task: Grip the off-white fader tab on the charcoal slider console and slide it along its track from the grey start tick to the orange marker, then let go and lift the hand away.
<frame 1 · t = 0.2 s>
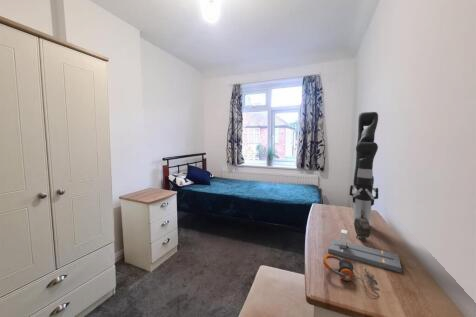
hand: (362, 204, 120), 17 cm above the table, tool pointing down, fingers open, 8 cm apart
alarm clock: (360, 238, 115), on the table
headphones: (349, 277, 82), on the table
console: (361, 255, 97), on the table
fader: (343, 238, 101), point 6 cm above the table, slide at -8.0 cm
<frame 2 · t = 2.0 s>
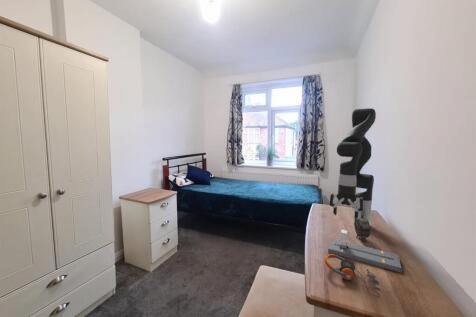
hand: (345, 216, 100), 17 cm above the table, tool pointing down, fingers open, 8 cm apart
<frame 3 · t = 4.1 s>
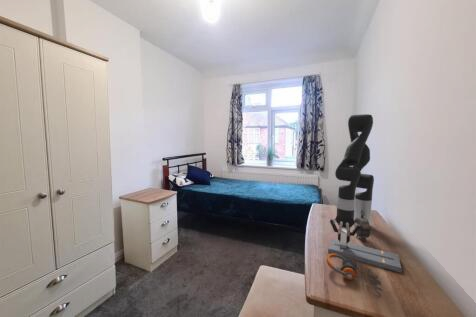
hand: (343, 241, 101), 5 cm above the table, tool pointing down, fingers closed on fader, 2 cm apart
fader: (343, 238, 101), point 6 cm above the table, slide at -8.0 cm, touching gripper
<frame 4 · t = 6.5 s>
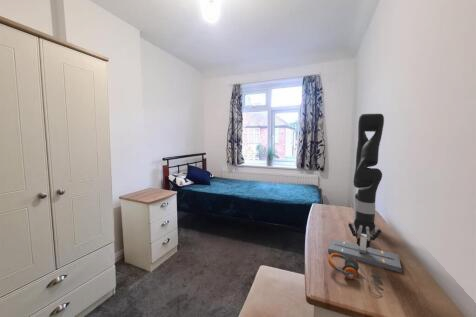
hand: (362, 246, 97), 5 cm above the table, tool pointing down, fingers closed on fader, 2 cm apart
fader: (363, 243, 97), point 6 cm above the table, slide at 0.2 cm, touching gripper
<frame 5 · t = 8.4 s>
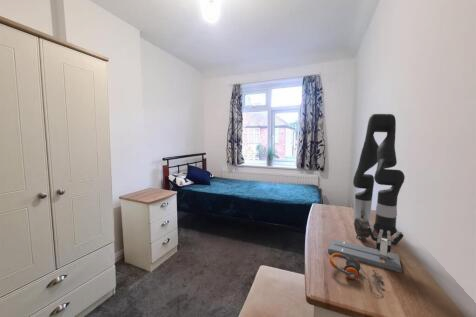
hand: (382, 251, 93), 5 cm above the table, tool pointing down, fingers closed on fader, 2 cm apart
fader: (383, 247, 93), point 6 cm above the table, slide at 7.9 cm, touching gripper
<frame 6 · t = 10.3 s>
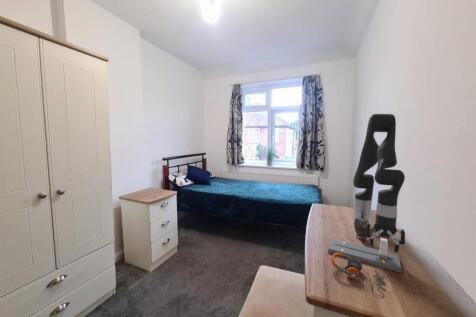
hand: (383, 248, 93), 6 cm above the table, tool pointing down, fingers open, 8 cm apart
fader: (383, 247, 93), point 6 cm above the table, slide at 8.0 cm
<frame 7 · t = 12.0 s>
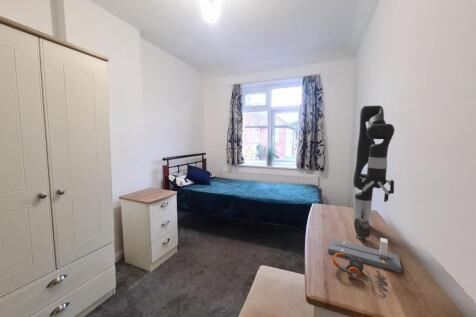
hand: (374, 199, 99), 26 cm above the table, tool pointing down, fingers open, 8 cm apart
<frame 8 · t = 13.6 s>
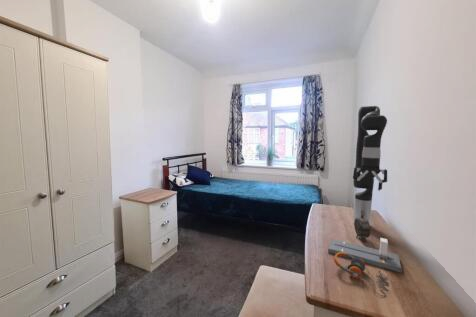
hand: (368, 189, 103), 30 cm above the table, tool pointing down, fingers open, 8 cm apart
at the end: fader slide at 8.0 cm; the gripper is holding nothing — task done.
